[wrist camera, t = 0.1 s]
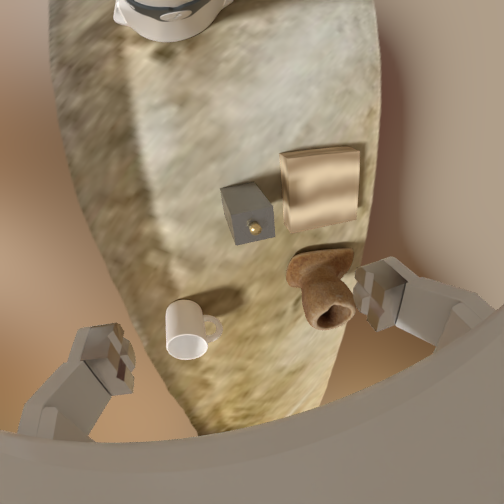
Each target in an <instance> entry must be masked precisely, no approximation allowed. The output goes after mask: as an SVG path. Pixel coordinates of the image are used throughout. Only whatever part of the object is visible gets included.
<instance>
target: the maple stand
mask: <svg viewBox="0 0 504 504" xmlns="http://www.w3.org/2000/svg"><path fill="white" fill-rule="evenodd" d="M279 155H280V168H281V183H282V198H283V215H284V224H285V226H286V227H287V228H288V230H289V231H290V233H291V234H292V233H296V232H301V231H305V230H310V229H315V228H319V227H324V226H329V225H333V224H338V223H343V222H348V221H352V220H356V217H357V205H358V190H359V171H360V151H358V150H356V149H354V148H352V147H349V146H344V147H332V148H321V149H311V150H302V151H294V152H286V153H279Z"/></svg>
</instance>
